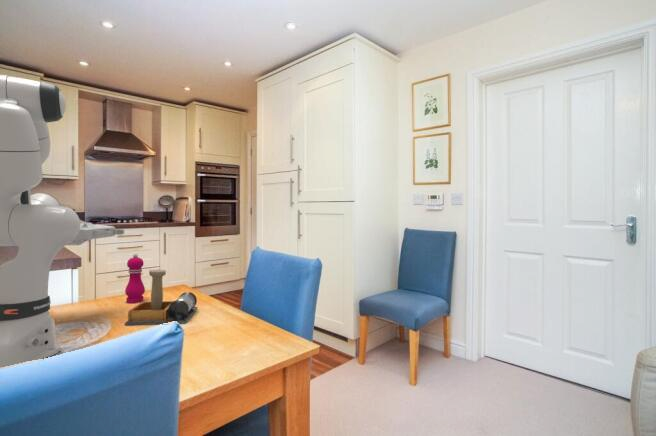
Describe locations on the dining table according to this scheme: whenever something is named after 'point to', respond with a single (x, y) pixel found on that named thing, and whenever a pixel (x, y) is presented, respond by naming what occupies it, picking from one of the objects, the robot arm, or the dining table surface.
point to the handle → (157, 288)
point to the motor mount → (163, 311)
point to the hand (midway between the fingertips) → (117, 232)
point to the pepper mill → (135, 280)
